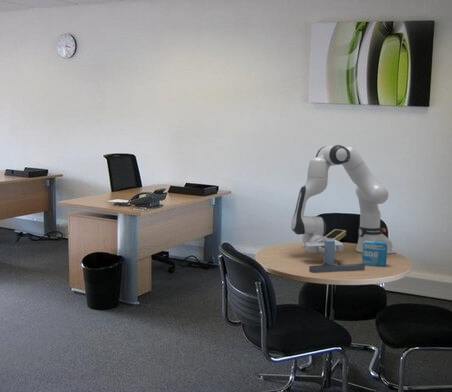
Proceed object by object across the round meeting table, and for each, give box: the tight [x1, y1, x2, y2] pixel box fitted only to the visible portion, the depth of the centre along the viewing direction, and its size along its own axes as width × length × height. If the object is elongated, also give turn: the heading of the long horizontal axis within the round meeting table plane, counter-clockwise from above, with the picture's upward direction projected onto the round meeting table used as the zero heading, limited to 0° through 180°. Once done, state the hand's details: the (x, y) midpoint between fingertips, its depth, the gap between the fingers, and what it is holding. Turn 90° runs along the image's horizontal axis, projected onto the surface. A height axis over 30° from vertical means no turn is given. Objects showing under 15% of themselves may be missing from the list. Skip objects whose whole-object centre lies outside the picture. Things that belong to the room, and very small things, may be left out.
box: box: [324, 228, 347, 242], centre depth 327 cm, size 8×22×5 cm, turn 145°
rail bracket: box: [308, 261, 366, 273], centre depth 264 cm, size 28×8×2 cm, turn 103°
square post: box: [323, 240, 336, 265], centre depth 270 cm, size 4×4×12 cm
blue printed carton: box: [361, 240, 388, 267], centre depth 274 cm, size 12×4×12 cm, turn 75°
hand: (330, 250), depth 269 cm, fingers closed on square post, 4 cm apart
